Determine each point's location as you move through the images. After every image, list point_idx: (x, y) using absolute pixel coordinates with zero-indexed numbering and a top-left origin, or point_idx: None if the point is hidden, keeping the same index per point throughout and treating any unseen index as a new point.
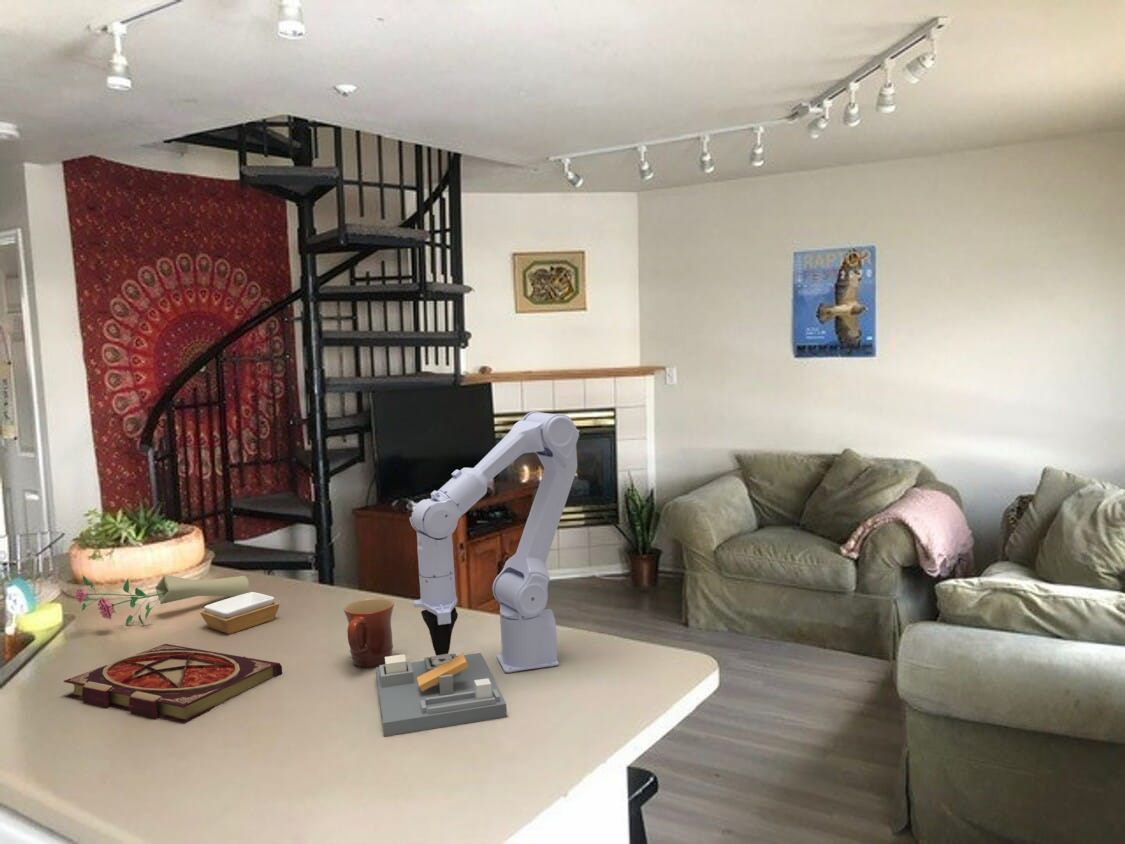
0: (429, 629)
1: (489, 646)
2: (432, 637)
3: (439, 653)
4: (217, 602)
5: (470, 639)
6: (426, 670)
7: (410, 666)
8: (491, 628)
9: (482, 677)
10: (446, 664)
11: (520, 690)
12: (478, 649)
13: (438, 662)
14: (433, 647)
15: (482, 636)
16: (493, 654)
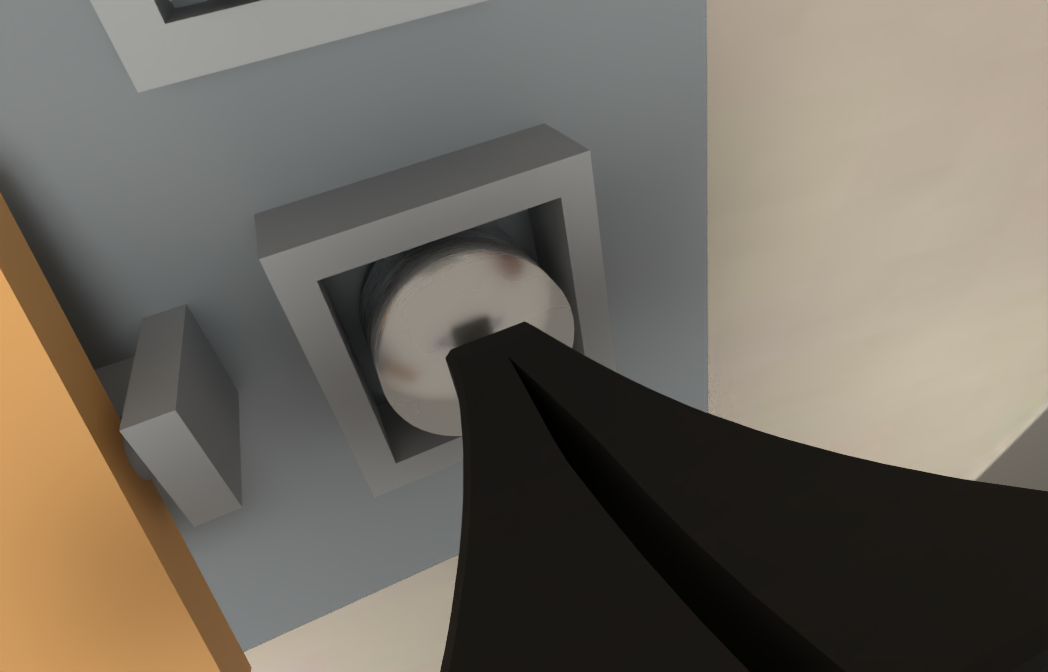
0: (447, 658)
1: (861, 374)
2: (466, 510)
3: (456, 391)
4: None
5: (986, 264)
6: (400, 183)
7: (342, 23)
8: (1040, 329)
9: (308, 574)
10: (83, 571)
11: (292, 660)
12: (852, 334)
13: (378, 353)
14: (500, 367)
15: (985, 312)
16: (764, 418)
